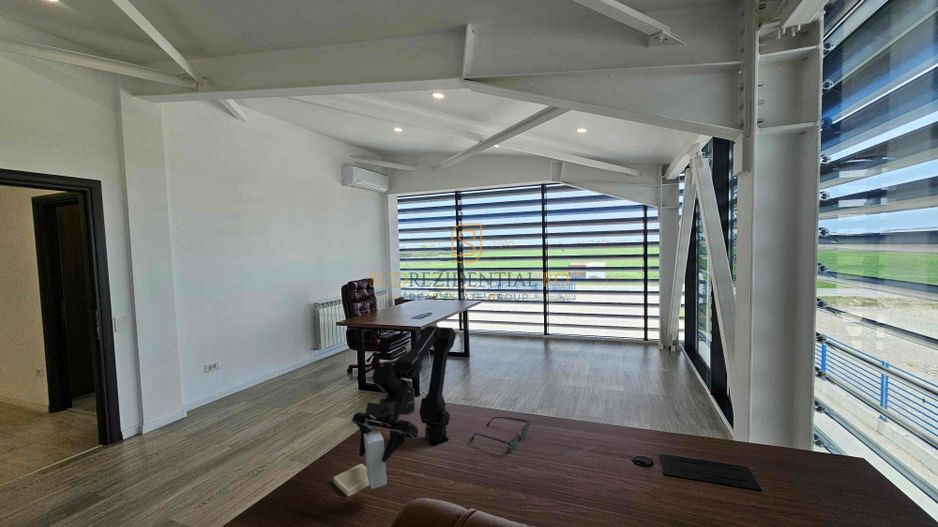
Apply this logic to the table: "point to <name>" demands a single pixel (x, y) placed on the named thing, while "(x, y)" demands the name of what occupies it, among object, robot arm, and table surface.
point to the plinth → (352, 480)
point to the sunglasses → (514, 441)
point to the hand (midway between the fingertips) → (371, 458)
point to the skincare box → (375, 459)
